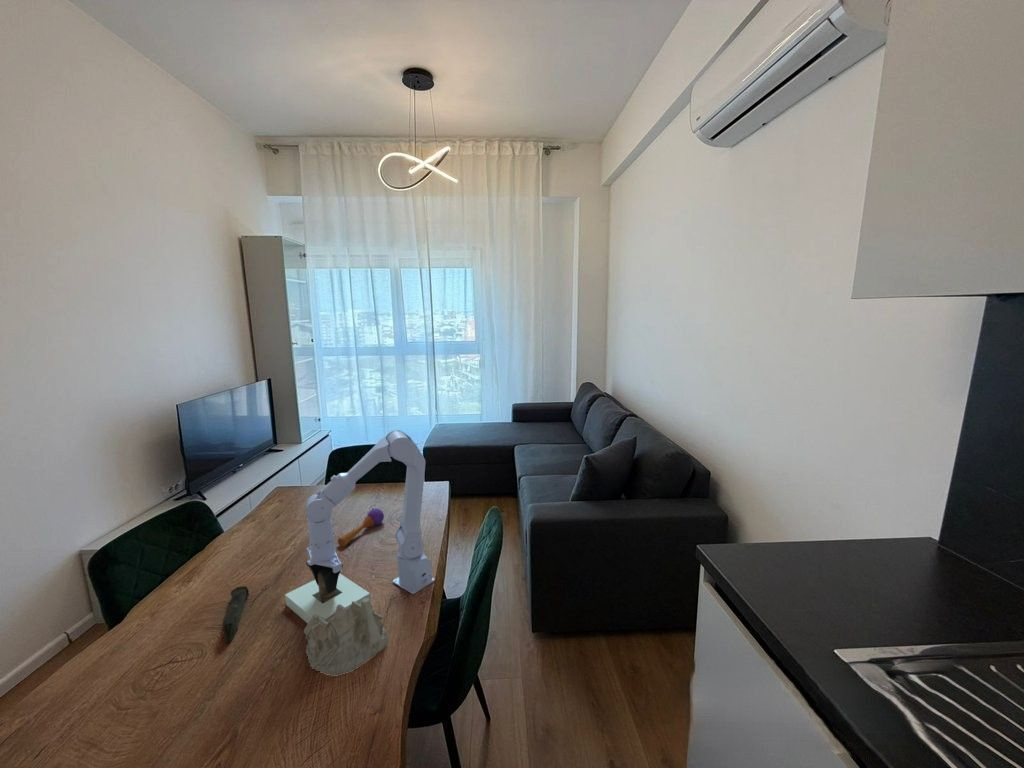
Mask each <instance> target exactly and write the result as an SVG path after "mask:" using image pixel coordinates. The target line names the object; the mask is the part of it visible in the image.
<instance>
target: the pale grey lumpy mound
mask: <svg viewBox="0 0 1024 768" xmlns="http://www.w3.org/2000/svg"><path fill="white" fill-rule="evenodd" d="M370 602H371V600H370V601H369V599H367V598H365V599H363V600H362V602H361V604H358V603H356V602H354V601H353V602H352V604H351V607H347V608H346V609H345V607H342V605H340V604H339V605H337V608H336V610H335V611H334V612H333V613H332V614H331V615H329V616H328V617H327V618H323V617H320V616H318V615H317V614H314V615H313V617H312V618H311V620H310V621H309V623H306V625H305V628H304V629H303V633H304V634H305V635H306V636H305V640H307V645H306V648H305V655H306V654H307V655H306V657H307V656H308V659H307V661H308V660H309V661H308V664H309V663H310V665H311V667H312V668H311V667H310V668H311V669H312V670H313V669H315V670H318V671H320V672H323V673H326V674H330V675H340V674H343V673H346V672H349V671H351V670H354V669H356V668H357V667H359V666H360V665H362V664H363V663H364V662H365V661H367V660H368V659H370V658H371V657H373V656H374V655H375V654H377V653H378V652H379V653H381V652H382V651H383V650H384V649H385V648H386V647H387V645H388V644H387V643H389V636H388V632H387V630H386V629H385V628H384V623H383V621H382V619H383V618H384V616H383V615H381V614H379V613H376V612H375V611H374V610H373V609H372V605H371V604H370ZM385 646H386V647H385ZM384 647H385V648H384ZM383 648H384V649H383ZM382 649H383V650H382ZM381 650H382V651H381ZM380 651H381V652H380ZM379 653H378V654H379ZM378 654H377V655H378ZM375 656H376V655H375ZM375 656H374V657H375ZM374 657H373V658H374ZM370 660H371V659H370ZM310 665H309V666H310ZM315 670H314V671H315ZM320 672H319V673H320Z"/></svg>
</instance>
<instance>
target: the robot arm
mask: <svg viewBox="0 0 1024 768" xmlns="http://www.w3.org/2000/svg"><path fill="white" fill-rule="evenodd" d="M391 457H392V458H393V459H394V460H396V461H399V462H402V463H403V464H404V465H405V466H406V474H405V484H404V494H403V508H402V518H401V519H400V521H399V525H398V529H397V530H396V532H395V540H396V542H397V544H398V549H397V551H396V554H397V555H396V556H397V572H398V576H397V577H396V578H394V579H393V580H392V583H393V584H395V585H396V586H399V588H402V589H403V590H404V591H407V592H408V593H410V594H412V595H415V594H416V593H418V592H419V591H421V590H422V589H424V588H426V587H427V586H429V585H430V584H432V583H433V582H435V578H434V577H433V572H432V571H433V568H432V561H431V559H430V558H428V557H427V556H426V554H425V553H424V547H425V545H424V541H423V539H422V535H423V534H422V533H423V532H422V526H421V513H422V504H423V494H424V493H423V492H424V482H425V472H426V459H425V457H424V455H423V454H422V452H421V450H420V448H419V447H418V445H417V444H416V443H415V442H414V440H413V439H412V438H411V436H409V435H408V434H407V433H405V432H404V431H402V430H400V429H395V430H391V431H390V432H388V433H387V434H386V436H384V437H382V438H380V439H379V440H378V442H377V443H375V445H374V446H373V447H372V448H371V449H370V450H369V451H368V452H367V453H365V455H364V456H362V457H361V459H359V461H357V463H355V464H354V465H353V466H352V467H351V468H350V469H349V470H348V471H347V472H340V473H338V474H337V475H335V474H334V475H332V476H331V477H330V481H329V482H327V484H326V485H324V487H322V488H321V489H317V491H316V492H315V493H314V494H312V495H311V496H309V497H308V498H307V501H306V504H305V507H306V509H305V513H306V517H307V523H308V525H307V528H308V529H307V530H308V536H309V537H308V539H309V547H307V548H306V555H307V556H308V557H309V559H308V560H307V561H306V563H305V564H306V566H307V567H308V569H310V571H311V573H312V575H313V578H314V580H315V581H316V583H317V585H318V573H320V575H321V576H322V578H323V580H324V583H325V587H326V591H327V593H331V592H333V591H335V590H336V587H337V581H338V577H339V574H341V571H342V570H343V567H344V565H343V563H342V562H341V561H340V559H339V557H338V554H337V552H336V548H335V547H336V545H335V538H334V537H335V536H334V529H333V521H332V519H331V515H332V511H333V508H335V507H336V506H338V505H339V504H340V503H341V502H342V501H343V500H344V499H345V498H346V497H348V496H349V495H350V494H351V493H352V492H354V490H355V489H356V483H357V481H358V480H360V479H361V478H362V477H363V476H365V475H366V474H367V473H368V472H370V471H371V470H372V469H373V468H374V467H375V466H376V465H378V464H379V463H382V462H384V463H385V462H389V463H391V462H392V461H393V460H392V458H391Z"/></svg>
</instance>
